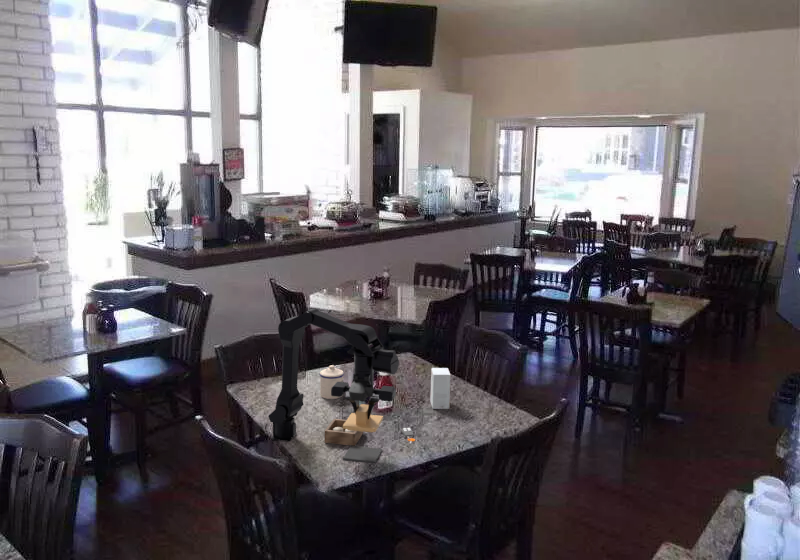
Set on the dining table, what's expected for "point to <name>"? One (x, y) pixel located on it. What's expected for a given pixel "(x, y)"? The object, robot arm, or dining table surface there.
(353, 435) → the walnut box
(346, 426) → the lid
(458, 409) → the dining table surface
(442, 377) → the small box
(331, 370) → the teacup with lid
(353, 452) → the rubber mat
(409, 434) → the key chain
